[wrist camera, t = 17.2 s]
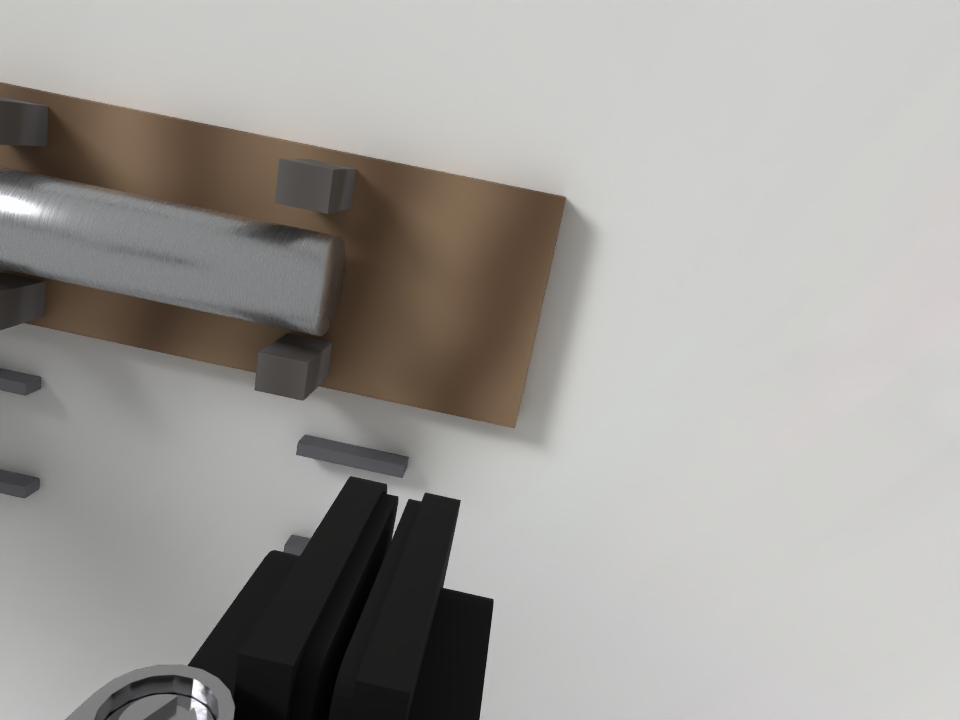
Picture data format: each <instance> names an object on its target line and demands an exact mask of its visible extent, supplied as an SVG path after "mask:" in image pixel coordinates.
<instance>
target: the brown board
mask: <svg viewBox="0 0 960 720" xmlns="http://www.w3.org/2000/svg"><path fill="white" fill-rule="evenodd" d="M0 166H2V167H7V168H12V169H17V170H22V171H26V172H31V173H36V174H41V175H46V176H51V177H55V178H60V179H65V180H70V181H75V182H80V183H84V184H89V185H94V186H99V187H104V188H109V189H113V190H118V191H123V192H128V193H133V194H138V195H143V196H147V197H152V198H157V199H162V200H167V201H172V202H176V203H181V204H186V205H191V206H196V207H201V208H205V209H210V210H215V211H220V212H225V213H230V214H234V215H239V216H244V217H249V218H254V219H259V220H263V221H268V222H273V223H278V224H283V225H288V226H293V227H297V228H302V229H307V230H312V231H317V232H322V233H326V234H331V235H336V236H340V237H341V238H342V240H343V242H344V246H345V256H346V257H345V275H344V282H343V288H342V293H341V297H340V301H339V305H338V308H337V311H336V314H335V316H334V319H333V321H332V323H331V325H330V327H329V329H328V330H327V332H326V333H325V334H324V335H322V336H317V335H312V334H307V333H303V332H298V331H293V330H288V329H284V328H279V327H274V326H270V325H265V324H260V323H255V322H251V321H246V320H241V319H237V318H232V317H227V316H222V315H218V314H213V313H208V312H203V311H199V310H194V309H189V308H185V307H180V306H175V305H170V304H166V303H161V302H156V301H152V300H147V299H142V298H137V297H133V296H128V295H123V294H119V293H114V292H109V291H104V290H100V289H95V288H90V287H86V286H81V285H76V284H71V283H67V282H62V281H57V280H52V279H48V278H43V277H38V276H34V275H29V274H24V273H19V272H15V271H10V270H5V269H1V268H0V330H2V329H5V328H9V327H12V326H15V325H18V324H22V323H28V324H32V325H37V326H42V327H46V328H51V329H55V330H60V331H65V332H69V333H74V334H79V335H83V336H88V337H93V338H97V339H102V340H107V341H111V342H116V343H121V344H125V345H130V346H135V347H139V348H144V349H149V350H153V351H158V352H162V353H167V354H172V355H176V356H181V357H186V358H190V359H195V360H200V361H204V362H209V363H214V364H218V365H223V366H228V367H232V368H237V369H242V370H246V371H251V372H256V382H255V390H256V391H261V392H266V393H270V394H275V395H280V396H284V397H289V398H294V399H298V400H303V401H304V400H305V399H306V398H307V397H308V396H309V395H310V394H311V393H312V392H313V391H314V390H315V389H316V388H317V387H318V386H321V387H325V388H330V389H335V390H339V391H344V392H349V393H353V394H358V395H363V396H367V397H372V398H377V399H381V400H386V401H390V402H395V403H400V404H404V405H409V406H414V407H418V408H423V409H428V410H432V411H437V412H442V413H446V414H451V415H456V416H460V417H465V418H470V419H474V420H479V421H484V422H488V423H493V424H497V425H502V426H507V427H511V428H515V425H516V420H517V416H518V411H519V407H520V402H521V398H522V393H523V389H524V384H525V380H526V375H527V371H528V366H529V362H530V357H531V353H532V348H533V344H534V339H535V335H536V330H537V326H538V321H539V317H540V312H541V308H542V303H543V299H544V294H545V290H546V285H547V281H548V276H549V272H550V267H551V263H552V258H553V254H554V249H555V245H556V240H557V236H558V231H559V227H560V222H561V218H562V213H563V209H564V204H565V200H566V198H565V197H563V196H559V195H554V194H549V193H544V192H539V191H534V190H529V189H524V188H519V187H514V186H509V185H504V184H499V183H494V182H489V181H485V180H480V179H475V178H470V177H465V176H460V175H455V174H450V173H445V172H440V171H435V170H430V169H425V168H420V167H415V166H410V165H406V164H401V163H396V162H391V161H386V160H381V159H376V158H371V157H366V156H361V155H356V154H351V153H346V152H341V151H336V150H332V149H327V148H322V147H317V146H312V145H307V144H302V143H297V142H292V141H287V140H282V139H277V138H272V137H267V136H262V135H258V134H253V133H248V132H243V131H238V130H233V129H228V128H223V127H218V126H213V125H208V124H203V123H198V122H193V121H188V120H183V119H179V118H174V117H169V116H164V115H159V114H154V113H149V112H144V111H139V110H134V109H129V108H124V107H119V106H114V105H109V104H105V103H100V102H95V101H90V100H85V99H80V98H75V97H70V96H65V95H60V94H55V93H50V92H45V91H40V90H35V89H31V88H26V87H21V86H16V85H11V84H6V83H1V82H0Z"/></svg>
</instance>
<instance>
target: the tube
mask: <svg viewBox="0 0 960 720" xmlns="http://www.w3.org/2000/svg"><path fill="white" fill-rule="evenodd" d="M345 257H346V256H345V246H344V242H343V240H342V238H341V237H340V236H336V235H331V234H326V233H322V232H317V231H312V230H307V229H302V228H297V227H293V226H288V225H283V224H278V223H273V222H268V221H263V220H259V219H254V218H249V217H244V216H239V215H234V214H230V213H225V212H220V211H215V210H210V209H205V208H201V207H196V206H191V205H186V204H181V203H176V202H172V201H167V200H162V199H157V198H152V197H147V196H143V195H138V194H133V193H128V192H123V191H118V190H113V189H109V188H104V187H99V186H94V185H89V184H84V183H80V182H75V181H70V180H65V179H60V178H55V177H51V176H46V175H41V174H36V173H31V172H26V171H22V170H17V169H12V168H7V167H2V166H0V268H1V269H5V270H10V271H15V272H19V273H24V274H29V275H34V276H38V277H43V278H48V279H52V280H57V281H62V282H67V283H71V284H76V285H81V286H86V287H90V288H95V289H100V290H104V291H109V292H114V293H119V294H123V295H128V296H133V297H137V298H142V299H147V300H152V301H156V302H161V303H166V304H170V305H175V306H180V307H185V308H189V309H194V310H199V311H203V312H208V313H213V314H218V315H222V316H227V317H232V318H237V319H241V320H246V321H251V322H255V323H260V324H265V325H270V326H274V327H279V328H284V329H288V330H293V331H298V332H303V333H307V334H312V335H317V336H322V335H324V334H325V333H326V332H327V330H328V329H329V327H330V325H331V323H332V321H333V319H334V316H335V314H336V311H337V308H338V305H339V301H340V297H341V293H342V288H343V282H344V275H345Z"/></svg>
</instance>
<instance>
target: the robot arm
mask: <svg viewBox="0 0 960 720" xmlns="http://www.w3.org/2000/svg"><path fill="white" fill-rule="evenodd" d="M460 501H461V500H457V499H452V498H448V497H443V496H439V495H434V494H430V493H425V494H424V497H423V499H422V502H421V501H416V500H412V499H409V500H408V502H407V505H406V507H405V509H404V512H403V514H402V517H401V519H400V522H399V524H398V526H397V529H396V531H395V534H394V536H393V539H392V535H393V529H394V523H395V518H396V512H397V506H398V496H394V495H389V494H387V484H384V483H379V482H375V481H370V480H366V479H361V478H357V477H352V476H350V478H349V479H348V480H347V482H346V484H345V485H344V487H343V488H342V490H341V491H340V493H339V495H338V496H337V498H336V499H335V501H334V503H333V504H332V506H331V507H330V509H329V511H328V512H327V514H326V515H325V517H324V519H323V520H322V522H321V523H320V525H319V526H318V528H317V530H316V531H315V533H314V534H313V536H312V538H311V539H310V541H309V542H308V544H307V546H306V547H305V549H304V550H303V552H302V554H301V555H300V556H298V555H294V554H289V553H285V552H280V551H276V550H273V551H270V552H269V553H268V555H267V556H266V557H265V558H264V559H263V561H262V562H261V564H260V565H259V566H258V568H257V569H256V571H255V572H254V573H253V575H252V576H251V578H250V579H249V580H248V582H247V583H246V585H245V586H244V587H243V589H242V590H241V592H240V593H239V594H238V596H237V597H236V599H235V600H234V601H233V603H232V604H231V606H230V607H229V608H228V610H227V611H226V613H225V614H224V615H223V617H222V618H221V620H220V621H219V622H218V624H217V625H216V627H215V628H214V629H213V631H212V632H211V634H210V635H209V636H208V638H207V639H206V641H205V642H204V643H203V645H202V646H201V648H200V649H199V650H198V652H197V653H196V655H195V656H194V657H193V659H192V660H191V662H190V663H189V664H188V666H185V665H156V666H152V667H147V668H142V669H137V670H134V671H132V672H130V673H127V674H125V675H123V676H120V677H118V678H115V679H113V680H112V681H111V682H109V683H108V684H106V685H105V686H104V687H102V688H101V689H99V690H98V691H96V692H95V693H94V694H93V695H92V696H91V697H89V698H88V699H87V700H86V701H85V702H84V703H83V704H82V705H81V706H79V707H78V708H77V709H76V710H75V711H74V712H73V713H72V714H71V715H70V716H68V717H67V718H66V719H65V720H479V718H480V710H481V702H482V694H483V685H484V677H485V669H486V661H487V653H488V645H489V636H490V628H491V620H492V612H493V602H494V601H493V599H490V598H486V597H481V596H477V595H472V594H468V593H463V592H459V591H454V590H450V589H446V588H443V585H444V580H445V575H446V570H447V566H448V561H449V556H450V551H451V546H452V541H453V536H454V532H455V527H456V522H457V517H458V512H459V507H460ZM391 540H392V541H391Z"/></svg>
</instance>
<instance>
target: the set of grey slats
mask: <svg viewBox="0 0 960 720" xmlns="http://www.w3.org/2000/svg"><path fill="white" fill-rule="evenodd" d="M40 384H41V377H37V376H33V375H28V374H23V373H19V372H14V371H10V370H5V369H0V390H3V391H7V392H12V393H16V394H21V395H25V396H26V395H28V394H30V393H32V392H35V391H37V390H39V389H40ZM296 455H300V456H304V457H309V458H313V459H318V460H323V461H327V462H332V463H336V464H341V465H345V466H350V467H355V468H359V469H364V470H368V471H373V472H377V473H382V474H387V475H391V476H396V477H400V478H403V475H404V473H405V471H406V469H407V463H408V458H409V457H405V456H400V455H396V454H391V453H387V452H382V451H377V450H373V449H368V448H364V447H359V446H354V445H350V444H345V443H341V442H336V441H331V440H327V439H322V438H318V437H313V436H308V435H304V436H303V437H302V439H301V440H300V441H299V442H298V445H297V452H296ZM38 489H39V478H35V477H30V476H26V475H21V474H17V473H12V472H8V471H3V470H0V493H3V494H8V495H12V496H17V497H21V498H26V497H28V496H29V495H31V494H32V493H34V492H35V491H37V490H38ZM309 541H310V539H308V538H304V537H299V536H295V535H291V537H290V538H289V540H288V541H287V543H286V544H285V546H284V552H285V553H289V554H294V555H298V556H300V555H301V554H302V552H303V550H304V549H305V547H306V546H307V544H308V542H309Z"/></svg>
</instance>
